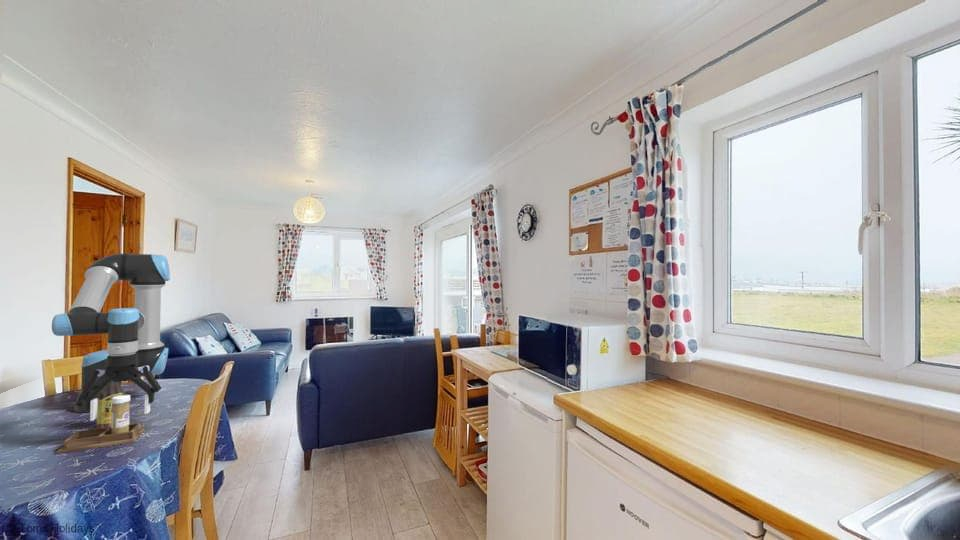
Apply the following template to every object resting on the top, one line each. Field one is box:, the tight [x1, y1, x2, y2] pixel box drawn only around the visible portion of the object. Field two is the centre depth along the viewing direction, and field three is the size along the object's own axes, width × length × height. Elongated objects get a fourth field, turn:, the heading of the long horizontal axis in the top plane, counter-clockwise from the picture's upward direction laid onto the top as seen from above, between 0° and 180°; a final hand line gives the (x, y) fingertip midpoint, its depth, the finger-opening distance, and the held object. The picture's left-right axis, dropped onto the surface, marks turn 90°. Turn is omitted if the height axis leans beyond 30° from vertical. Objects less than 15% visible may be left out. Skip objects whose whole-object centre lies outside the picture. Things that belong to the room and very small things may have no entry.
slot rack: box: [55, 422, 148, 455], centre depth 120 cm, size 12×18×3 cm, turn 117°
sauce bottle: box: [96, 373, 123, 429], centre depth 132 cm, size 6×6×20 cm
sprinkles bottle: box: [111, 393, 132, 434], centre depth 122 cm, size 5×5×14 cm
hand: (121, 415), depth 122 cm, fingers open, 13 cm apart
